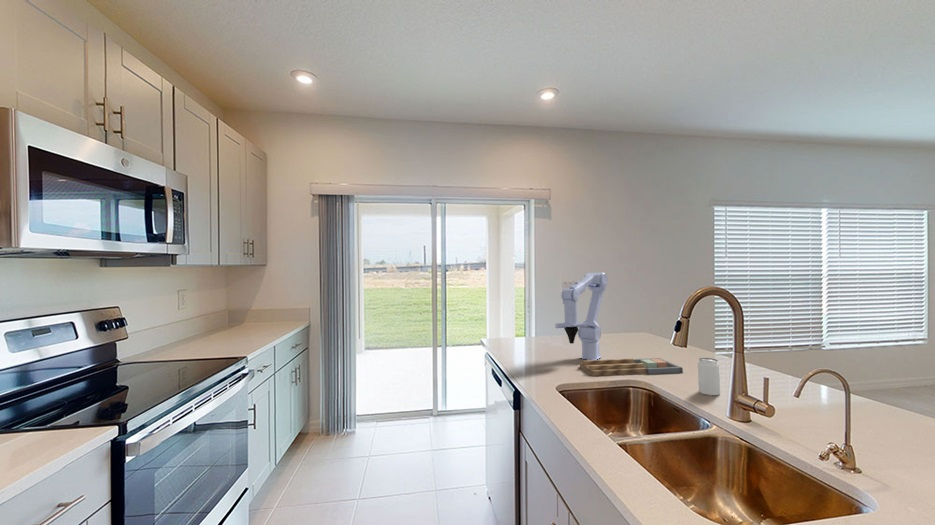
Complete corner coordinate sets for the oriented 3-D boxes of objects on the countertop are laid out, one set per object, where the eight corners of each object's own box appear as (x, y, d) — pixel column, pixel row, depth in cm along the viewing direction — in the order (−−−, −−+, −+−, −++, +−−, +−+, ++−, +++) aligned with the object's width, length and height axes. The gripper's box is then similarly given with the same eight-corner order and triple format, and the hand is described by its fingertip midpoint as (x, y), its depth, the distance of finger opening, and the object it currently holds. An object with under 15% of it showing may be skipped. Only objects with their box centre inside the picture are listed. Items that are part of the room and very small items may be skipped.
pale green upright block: (648, 369, 160) (648, 363, 160) (640, 366, 166) (640, 359, 166) (657, 369, 160) (656, 362, 160) (649, 365, 166) (649, 359, 166)
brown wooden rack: (592, 376, 154) (592, 367, 154) (579, 367, 168) (579, 359, 168) (646, 373, 156) (646, 365, 156) (629, 364, 170) (629, 357, 170)
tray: (648, 374, 154) (648, 369, 154) (628, 364, 171) (628, 359, 171) (682, 372, 156) (682, 367, 156) (659, 362, 172) (659, 358, 172)
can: (723, 396, 127) (722, 362, 127) (703, 395, 128) (702, 361, 128) (715, 390, 133) (714, 357, 133) (695, 389, 135) (694, 357, 135)
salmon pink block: (657, 369, 160) (657, 362, 160) (650, 365, 166) (649, 359, 166) (666, 369, 160) (666, 362, 160) (658, 365, 166) (658, 358, 166)
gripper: (558, 315, 167) (559, 345, 167) (589, 314, 168) (590, 344, 168) (553, 313, 174) (554, 342, 174) (583, 312, 175) (584, 341, 175)
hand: (571, 343), depth 171 cm, fingers closed
